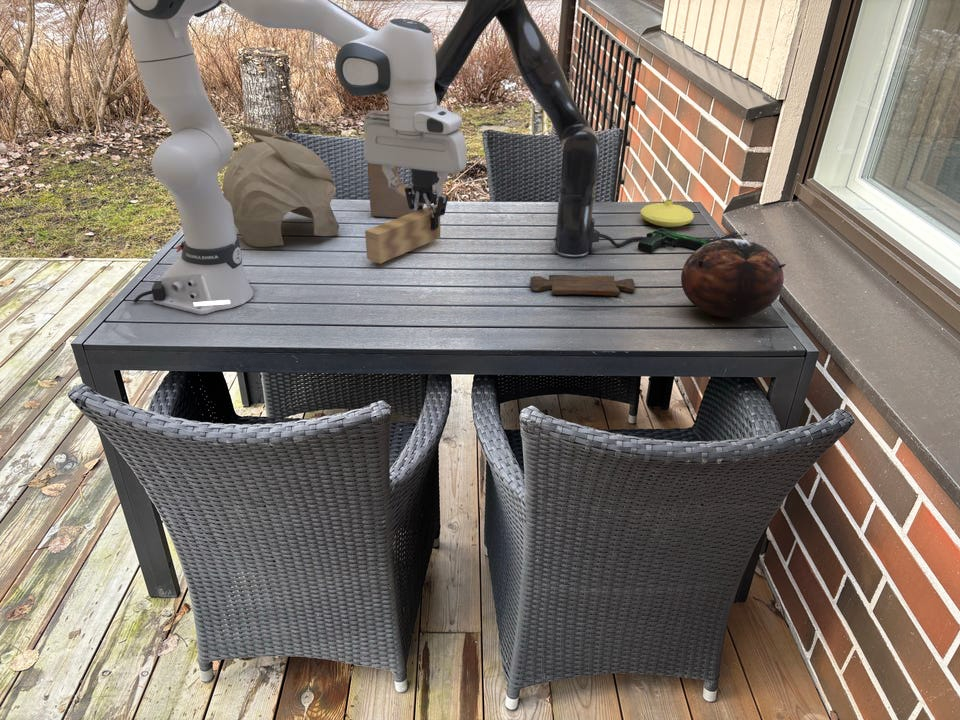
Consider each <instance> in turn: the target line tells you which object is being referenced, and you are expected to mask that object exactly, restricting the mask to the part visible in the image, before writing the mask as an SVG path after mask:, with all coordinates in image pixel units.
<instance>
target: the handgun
mask: <svg viewBox="0 0 960 720" xmlns="http://www.w3.org/2000/svg"><path fill="white" fill-rule="evenodd" d="M645 237H648V238H645V239H642V240H638V244H637V249H638V250H639V251H642V252H646V253H650V254H651V253H652V252H653V251H654V250H655V249H658V248H660V247H663V246H665V247H669V248H670V247H671V248H672V247H684V248H688V249H691V250H692V249H693V250H695V251H696V250H698V249H699V248H701V247H702V246H704V245H706V244H709V242H708V240H704V238H699V237H695V236H690V235H685V234H681V233H677V232H675V231H671V230H668V229H666V228H661V227H660V228H658V229H655V230H654V231H652V232H647V233H646V235H645Z"/></svg>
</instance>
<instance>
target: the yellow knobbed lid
mask: <svg viewBox="0 0 960 720" xmlns="http://www.w3.org/2000/svg"><path fill="white" fill-rule="evenodd" d="M640 216H641V218H642V219H643V220H644V221H646V222H648V223H649V224H652V225H654V226H658V227H663V228H678V227H683V226H685V225H688V224H690V223H692V221H693V220H694V218H695V215H694V213H693V211H692V210H691V209H689V208H688V207H686V206H683V205H680V204H674V199H671V198H666V199H665V200H664V202H657V203H649V204H647V205H644V206H643V207H642V208H641V210H640Z"/></svg>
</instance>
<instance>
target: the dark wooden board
mask: <svg viewBox="0 0 960 720" xmlns="http://www.w3.org/2000/svg"><path fill="white" fill-rule="evenodd" d="M529 278H530V285H529V286H530V291H531V292H542V291H547V290H551V294H552V295H556V296H557V295H558V296H559V295H560V296H562V295H588V296H589V295H592V296H612V297H613V296H614V297H615V296H619V295H621V291H623V292H627V293H634V290H635V282H634V279H633V278H625V279H619V280H618V279H617V280H615V276H614V275H573V274H572V275H570V274H549V275H548V279H547V278H546V277H543V276H540V275H534V276H530V277H529Z"/></svg>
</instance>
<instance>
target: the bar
mask: <svg viewBox="0 0 960 720" xmlns="http://www.w3.org/2000/svg"><path fill="white" fill-rule="evenodd" d="M433 210H434V209H433ZM434 212H435V211H434ZM430 218H431V215H430V212H429V210H428V209H427V206H426V207H423V209H420V210H418V211H415V212H413V213H410V214H407V215H405V216H402V217H399V218H395V219H392V220H389V221H386V222H384V223H382V224H379V225H376V226H373V227H371V228H368V229H365V230H364V234H365V237H364V238H365V248H366V250H365V251H366V260H368V261H371V262H373V263H376V264H383V263H385V262H388V261H389V260H391V259H394V258H396V257H399V256H401V255H404V254H406V253H408V252H411V251H413V250H415V249H418V248H420V247H422V246H425V245H427V244H429V243H432V242H434V241H435V240H438V239H440V238H441V237H442V236H441V216H439V217H438V219H439V222H438V223H439V227H438V228H437V229H436V230H434V231H433V230H431V221H430Z"/></svg>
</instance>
